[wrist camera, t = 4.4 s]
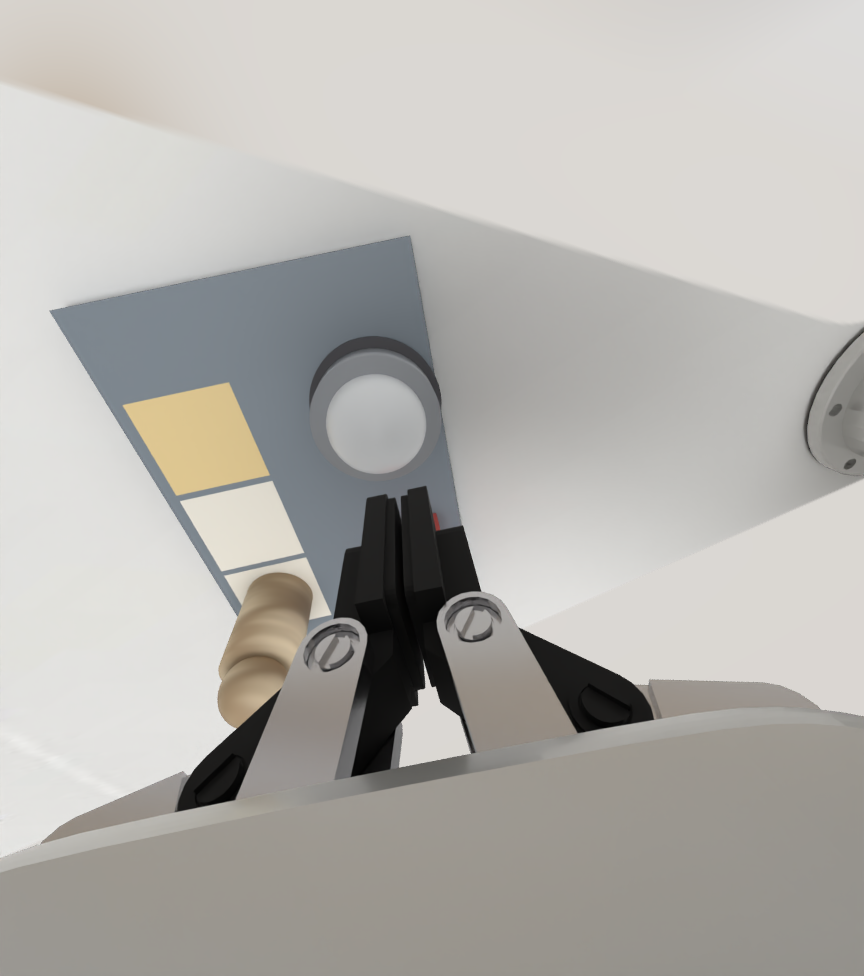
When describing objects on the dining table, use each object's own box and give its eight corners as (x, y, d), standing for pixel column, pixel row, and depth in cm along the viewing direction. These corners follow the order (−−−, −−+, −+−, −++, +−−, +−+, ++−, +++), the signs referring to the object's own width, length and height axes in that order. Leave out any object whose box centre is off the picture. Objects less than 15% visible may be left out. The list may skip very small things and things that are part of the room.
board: (410, 237, 19) (421, 225, 15) (473, 596, 32) (491, 655, 27) (67, 308, 19) (-39, 321, 14) (266, 644, 31) (246, 712, 27)
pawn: (301, 566, 27) (273, 688, 19) (320, 611, 29) (302, 737, 21) (236, 580, 27) (181, 709, 19) (261, 624, 29) (221, 756, 21)
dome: (423, 335, 20) (436, 352, 15) (444, 450, 23) (459, 490, 19) (297, 362, 20) (276, 386, 15) (336, 473, 23) (327, 519, 18)
